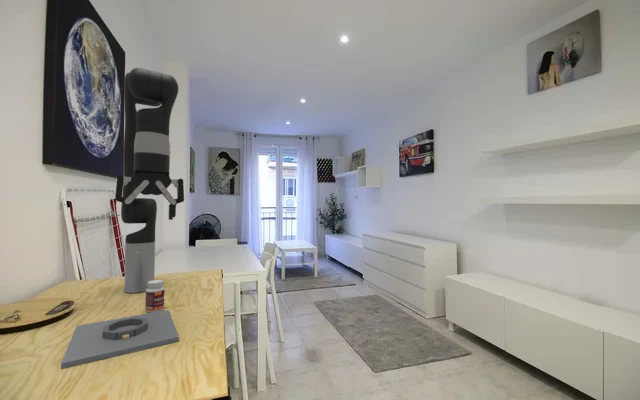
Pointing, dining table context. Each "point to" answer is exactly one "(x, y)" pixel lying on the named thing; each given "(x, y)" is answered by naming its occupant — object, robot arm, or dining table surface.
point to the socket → (119, 337)
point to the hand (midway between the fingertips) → (150, 220)
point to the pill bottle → (154, 296)
